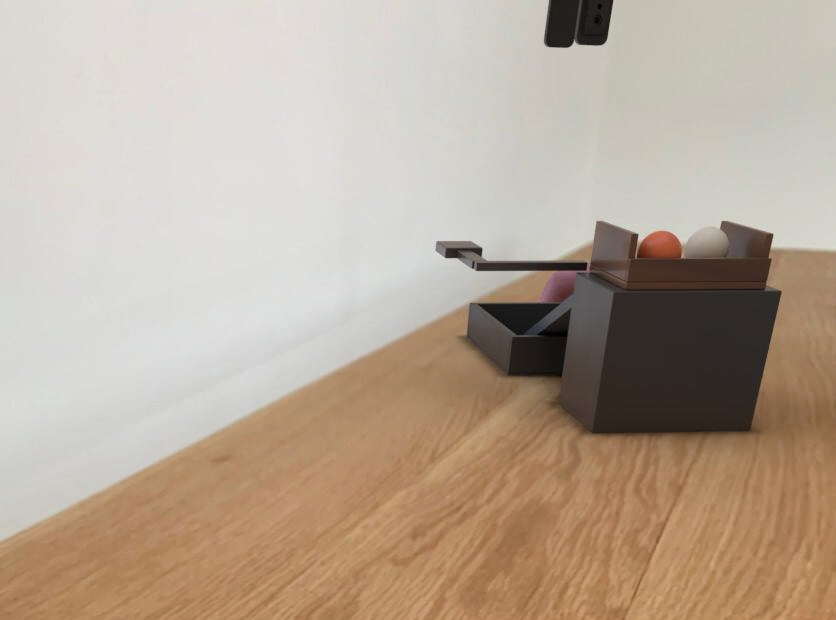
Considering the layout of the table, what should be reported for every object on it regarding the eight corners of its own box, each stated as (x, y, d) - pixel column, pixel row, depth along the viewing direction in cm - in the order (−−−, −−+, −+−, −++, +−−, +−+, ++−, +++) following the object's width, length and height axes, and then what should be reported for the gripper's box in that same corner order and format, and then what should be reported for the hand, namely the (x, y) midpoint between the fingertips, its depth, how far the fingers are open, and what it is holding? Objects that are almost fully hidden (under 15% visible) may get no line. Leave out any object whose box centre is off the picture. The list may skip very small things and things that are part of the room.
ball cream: (715, 259, 82) (729, 219, 79) (724, 281, 80) (739, 241, 77) (675, 257, 82) (688, 217, 79) (683, 279, 80) (697, 239, 77)
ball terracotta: (669, 263, 79) (682, 223, 77) (677, 286, 78) (692, 245, 75) (627, 262, 79) (640, 221, 77) (635, 285, 77) (648, 244, 75)
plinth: (557, 406, 88) (575, 272, 83) (703, 404, 89) (730, 271, 84) (591, 437, 81) (614, 291, 76) (749, 434, 82) (782, 290, 77)
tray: (466, 339, 110) (469, 302, 108) (614, 338, 111) (620, 301, 109) (507, 378, 96) (512, 336, 94) (677, 376, 97) (684, 335, 95)
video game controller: (630, 341, 117) (645, 273, 117) (626, 327, 113) (642, 257, 112) (538, 332, 121) (552, 267, 120) (531, 319, 117) (546, 251, 116)
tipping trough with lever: (435, 251, 92) (438, 204, 90) (663, 250, 93) (671, 204, 91) (490, 290, 76) (496, 234, 74) (765, 289, 77) (777, 234, 75)
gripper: (710, -264, 68) (654, 47, 76) (634, -214, 80) (594, 50, 88) (590, -272, 67) (547, 43, 76) (532, -220, 80) (501, 46, 88)
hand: (572, 46), depth 82 cm, fingers open, 8 cm apart
